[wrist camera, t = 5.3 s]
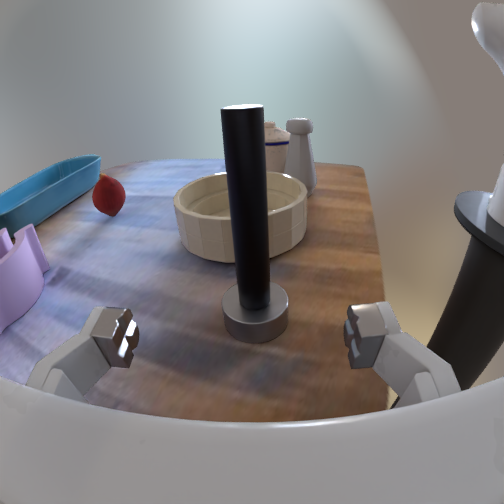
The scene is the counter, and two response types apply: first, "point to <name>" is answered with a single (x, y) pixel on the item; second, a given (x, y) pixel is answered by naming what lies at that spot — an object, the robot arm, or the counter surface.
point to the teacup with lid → (275, 147)
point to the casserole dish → (47, 192)
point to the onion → (108, 195)
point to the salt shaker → (300, 153)
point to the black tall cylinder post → (250, 230)
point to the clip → (20, 273)
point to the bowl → (219, 222)
